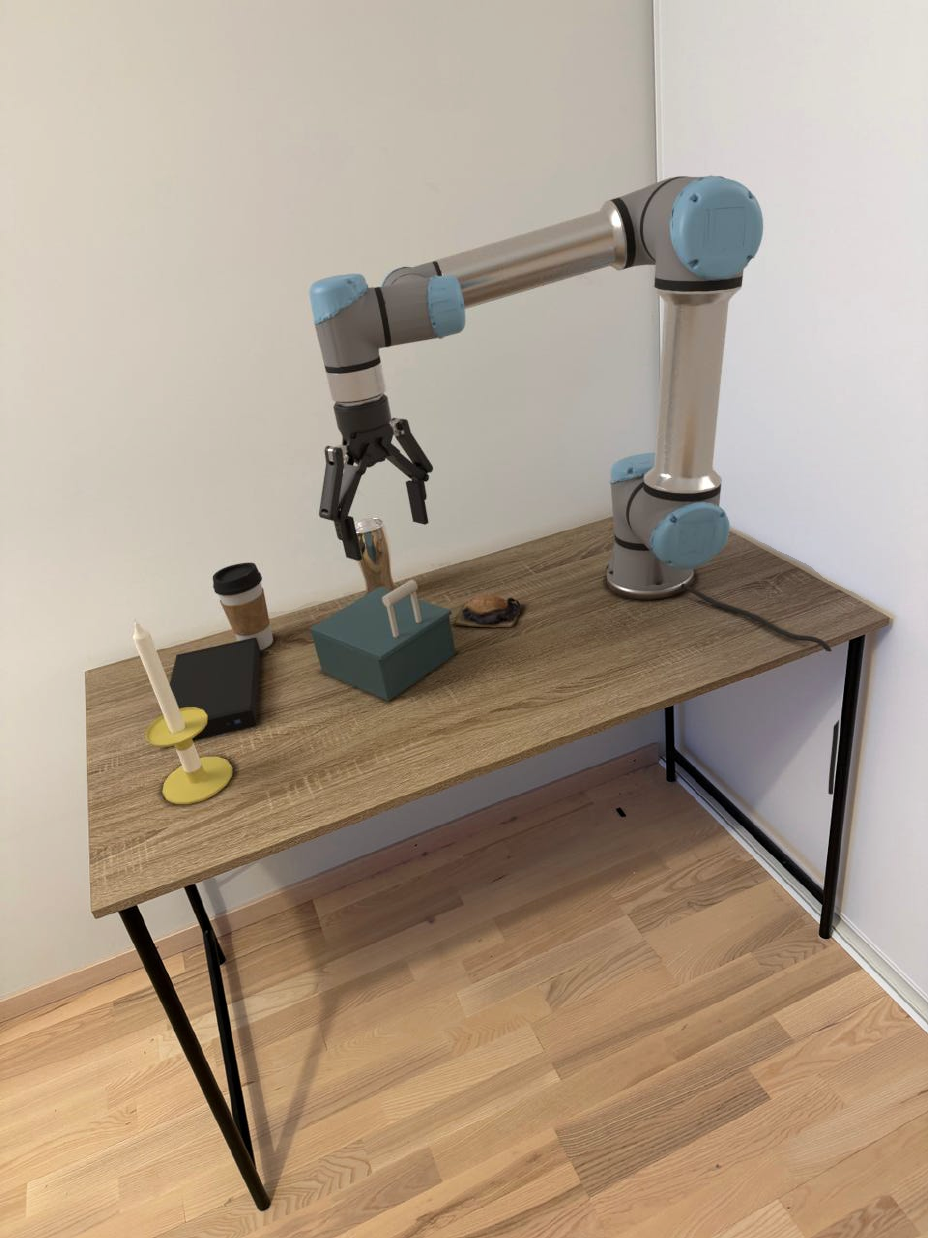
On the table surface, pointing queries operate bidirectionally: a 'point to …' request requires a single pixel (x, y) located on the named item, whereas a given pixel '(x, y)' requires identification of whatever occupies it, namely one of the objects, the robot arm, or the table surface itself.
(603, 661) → the table surface
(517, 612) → the bread roll
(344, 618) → the bread box lid
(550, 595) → the table surface
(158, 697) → the candle
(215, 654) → the external hard drive
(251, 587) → the coffee cup
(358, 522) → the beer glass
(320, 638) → the bread box
